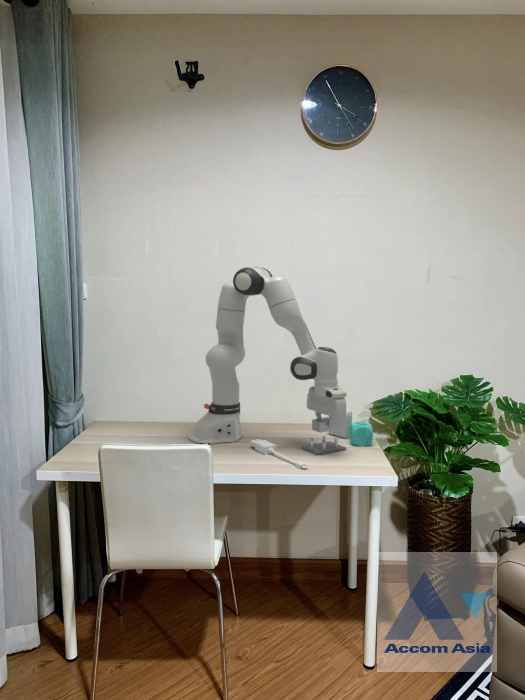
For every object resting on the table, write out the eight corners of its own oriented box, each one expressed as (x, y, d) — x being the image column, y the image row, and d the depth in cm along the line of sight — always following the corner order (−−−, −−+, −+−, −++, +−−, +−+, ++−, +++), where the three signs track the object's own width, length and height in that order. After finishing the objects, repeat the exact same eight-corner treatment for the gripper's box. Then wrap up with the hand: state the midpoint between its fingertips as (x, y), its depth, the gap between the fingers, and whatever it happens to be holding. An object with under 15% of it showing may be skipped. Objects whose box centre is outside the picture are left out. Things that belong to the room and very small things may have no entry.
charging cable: (300, 473, 210) (300, 464, 210) (248, 447, 236) (249, 438, 236) (311, 471, 213) (311, 462, 212) (259, 445, 239) (259, 436, 239)
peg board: (317, 455, 228) (317, 445, 227) (301, 448, 236) (301, 438, 235) (346, 450, 235) (346, 439, 234) (329, 443, 243) (330, 433, 243)
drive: (320, 432, 230) (320, 421, 229) (312, 429, 234) (312, 419, 233) (338, 429, 235) (338, 418, 234) (330, 426, 239) (330, 416, 238)
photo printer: (352, 437, 253) (354, 408, 252) (346, 439, 250) (347, 409, 248) (332, 432, 260) (333, 404, 259) (326, 434, 257) (327, 405, 255)
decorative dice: (352, 446, 240) (353, 426, 239) (349, 440, 248) (349, 421, 247) (372, 446, 240) (373, 426, 239) (368, 440, 248) (369, 421, 247)
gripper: (303, 386, 239) (302, 420, 241) (336, 395, 222) (335, 432, 224) (315, 384, 243) (315, 418, 244) (349, 393, 226) (348, 429, 227)
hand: (325, 425), depth 234 cm, fingers closed on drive, 5 cm apart
